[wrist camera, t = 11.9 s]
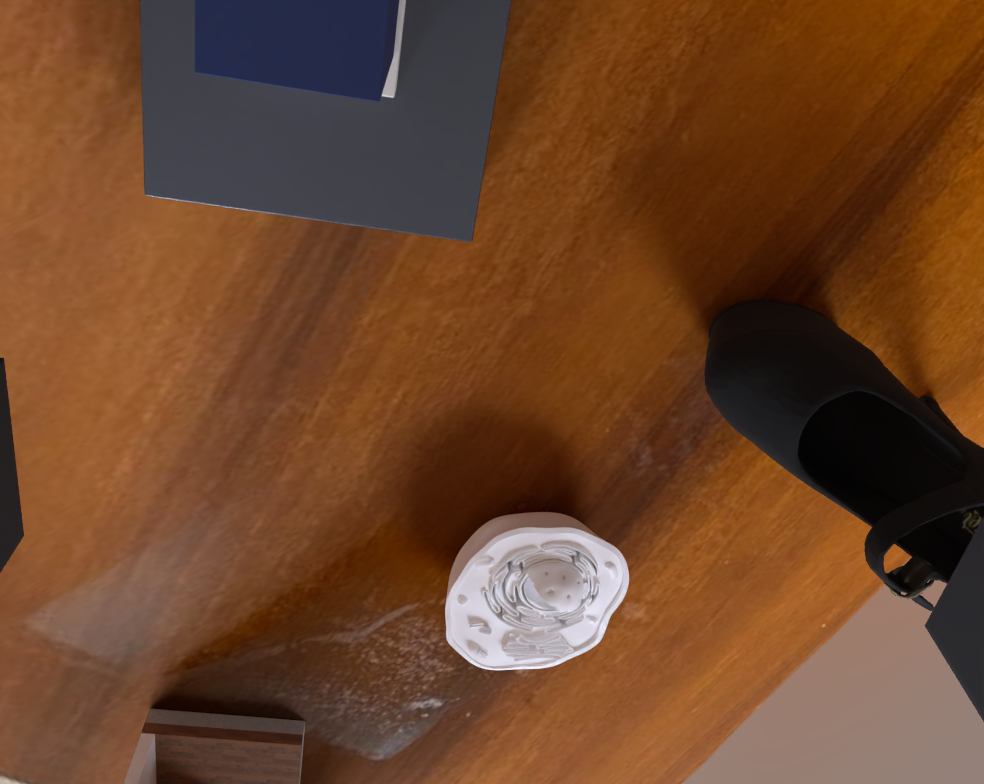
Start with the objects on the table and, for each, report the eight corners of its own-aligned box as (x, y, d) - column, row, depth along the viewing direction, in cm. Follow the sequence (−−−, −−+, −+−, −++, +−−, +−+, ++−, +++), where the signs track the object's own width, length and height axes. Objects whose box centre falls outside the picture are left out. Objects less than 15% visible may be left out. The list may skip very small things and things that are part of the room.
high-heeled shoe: (705, 251, 48) (847, 473, 31) (999, 364, 52) (1272, 616, 35) (637, 375, 51) (730, 637, 34) (918, 472, 56) (1128, 749, 38)
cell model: (404, 569, 58) (399, 649, 52) (529, 445, 53) (539, 517, 48) (525, 641, 61) (532, 723, 56) (652, 530, 57) (674, 607, 51)
